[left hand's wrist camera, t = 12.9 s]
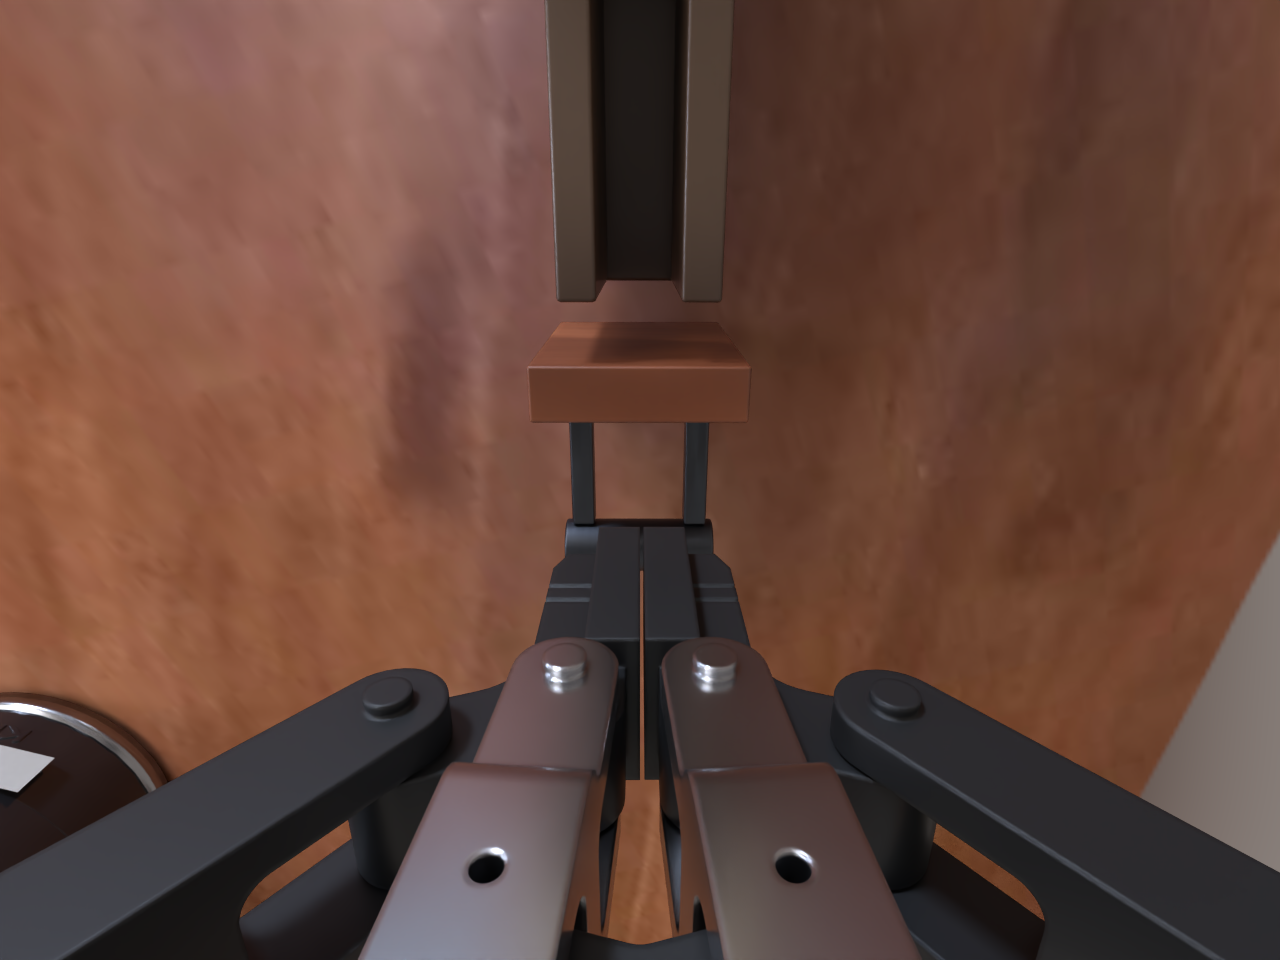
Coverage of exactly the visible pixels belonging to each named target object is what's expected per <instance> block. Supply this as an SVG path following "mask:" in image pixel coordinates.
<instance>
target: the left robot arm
mask: <svg viewBox="0 0 1280 960" xmlns="http://www.w3.org/2000/svg"><path fill="white" fill-rule="evenodd" d="M643 646H644V767H645V780H659V790H660V822H659V826H660V839H661V847H662V855H663V863H664V871H665V880H666V888H667V896H668V904H669V912H670V920H671V929H672V937H673V938H670V939H666V940H662V941H658V942H654V943H650V944H644V945H635V944H630V943H626V942H622V941H618V940H614V939H610V938H607V937H608V929H609V920H610V912H611V904H612V896H613V888H614V880H615V871H616V863H617V855H618V847H619V839H620V826H621V822H620V813H621V812H622V809H623V806H624V802H625V783H626V780H640V527H599V533H598V540H597V548H596V554H569V555H567V556H566V557H565V558H564V559H563V560H562V561H561V562H560V563H559V564H558V565H557V566H555V567H554V568H553V572H552V576H551V580H550V584H549V589H548V593H547V597H546V602H545V605H544V609H543V613H542V617H541V621H540V625H539V629H538V633H537V637H536V641H535V645H532V646H531V647H529V648H527V649H526V650H525V651H523V652H522V653H521V654H520V655H519V656H518V657H517V658H516V660H515V661H514V663H513V665H512V668H511V670H510V673H509V675H508V677H507V680H506V681H505V682H503V683H501V684H499V685H496V686H494V687H491V688H488V689H484V690H480V691H476V692H472V693H467V694H462V695H458V696H453V697H449V692H448V688H447V685H446V683H445V682H444V681H443V679H441V678H440V677H439V676H437V675H436V674H433V673H431V672H429V671H425V670H421V669H411V668H403V669H393V670H387V671H383V672H379V673H376V674H373V675H370V676H367V677H365V678H363V679H361V680H359V681H357V682H355V683H353V684H351V685H349V686H347V687H346V688H344V689H342V690H340V691H338V692H336V693H334V694H332V695H331V696H329V697H327V698H325V699H323V700H321V701H319V702H318V703H316V704H314V705H312V706H310V707H308V708H306V709H304V710H303V711H301V712H299V713H297V714H295V715H293V716H291V717H290V718H288V719H286V720H284V721H282V722H280V723H278V724H277V725H275V726H273V727H271V728H269V729H267V730H265V731H263V732H262V733H260V734H258V735H256V736H254V737H252V738H250V739H249V740H247V741H245V742H243V743H241V744H239V745H237V746H236V747H234V748H232V749H230V750H228V751H226V752H224V753H222V754H221V755H219V756H217V757H215V758H213V759H211V760H209V761H208V762H206V763H204V764H202V765H200V766H198V767H196V768H195V769H193V770H191V771H189V772H187V773H185V774H183V775H181V776H180V777H178V778H176V779H174V780H172V781H170V782H167V780H166V778H165V775H164V774H163V772H162V770H161V769H160V767H159V766H158V764H157V763H156V761H155V760H154V759H153V757H152V756H151V755H150V754H149V753H148V752H147V751H146V749H145V748H144V747H143V746H142V745H141V744H140V743H139V742H138V741H137V740H135V739H134V738H133V737H132V736H131V735H129V734H128V733H127V732H126V731H124V730H123V729H121V728H120V727H119V726H117V725H116V724H114V723H113V722H111V721H109V720H108V719H106V718H104V717H103V716H101V715H99V714H97V713H95V712H93V711H91V710H89V709H86V708H84V707H82V706H79V705H76V704H74V703H71V702H68V701H65V700H61V699H58V698H54V697H49V696H44V695H39V694H31V693H18V692H9V693H0V960H1280V873H1279V872H1278V871H1276V870H1274V869H1272V868H1270V867H1268V866H1266V865H1264V864H1263V863H1261V862H1259V861H1257V860H1255V859H1253V858H1251V857H1250V856H1248V855H1246V854H1244V853H1242V852H1240V851H1238V850H1236V849H1235V848H1233V847H1231V846H1229V845H1227V844H1225V843H1223V842H1222V841H1220V840H1218V839H1216V838H1214V837H1212V836H1210V835H1209V834H1207V833H1205V832H1203V831H1201V830H1199V829H1197V828H1196V827H1194V826H1192V825H1190V824H1188V823H1186V822H1184V821H1182V820H1181V819H1179V818H1177V817H1175V816H1173V815H1171V814H1169V813H1168V812H1166V811H1164V810H1162V809H1160V808H1158V807H1156V806H1154V805H1153V804H1151V803H1149V802H1147V801H1145V800H1143V799H1141V798H1140V797H1138V796H1136V795H1134V794H1132V793H1130V792H1128V791H1127V790H1125V789H1123V788H1121V787H1119V786H1117V785H1115V784H1113V783H1112V782H1110V781H1108V780H1106V779H1104V778H1102V777H1100V776H1099V775H1097V774H1095V773H1093V772H1091V771H1089V770H1087V769H1086V768H1084V767H1082V766H1080V765H1078V764H1076V763H1074V762H1072V761H1071V760H1069V759H1067V758H1065V757H1063V756H1061V755H1059V754H1058V753H1056V752H1054V751H1052V750H1050V749H1048V748H1046V747H1045V746H1043V745H1041V744H1039V743H1037V742H1035V741H1033V740H1031V739H1030V738H1028V737H1026V736H1024V735H1022V734H1020V733H1018V732H1017V731H1015V730H1013V729H1011V728H1009V727H1007V726H1005V725H1003V724H1002V723H1000V722H998V721H996V720H994V719H992V718H990V717H989V716H987V715H985V714H983V713H981V712H979V711H977V710H976V709H974V708H972V707H970V706H968V705H966V704H964V703H962V702H961V701H959V700H957V699H955V698H953V697H951V696H949V695H948V694H946V693H944V692H942V691H940V690H938V689H936V688H935V687H933V686H931V685H929V684H927V683H925V682H923V681H921V680H919V679H917V678H914V677H911V676H909V675H906V674H902V673H898V672H893V671H887V670H865V671H859V672H855V673H852V674H850V675H848V676H846V677H844V678H843V679H842V680H841V681H840V682H839V683H838V684H837V686H836V688H835V691H834V697H833V696H829V695H824V694H819V693H815V692H810V691H806V690H802V689H798V688H795V687H792V686H789V685H786V684H784V683H782V682H780V681H778V680H776V679H775V678H773V677H772V675H771V673H770V670H769V668H768V665H767V663H766V661H765V660H764V658H763V657H762V656H761V655H760V654H759V653H758V652H757V651H755V650H754V649H753V648H751V647H750V643H749V639H748V635H747V631H746V627H745V623H744V620H743V616H742V612H741V608H740V604H739V602H738V596H737V593H736V589H735V588H734V581H733V577H732V573H731V569H730V567H728V566H727V565H726V564H725V563H724V562H723V561H722V560H721V559H720V558H718V557H717V556H716V555H715V554H688V549H687V542H686V535H685V529H684V527H644V546H643ZM347 820H348V821H349V827H350V832H351V837H352V839H350V840H349V841H348V842H346V843H345V844H343V845H342V846H341V847H339V848H338V849H336V850H335V851H334V852H332V853H331V854H329V855H328V856H327V857H325V858H324V859H322V860H321V861H320V862H318V863H317V864H315V865H314V866H313V867H311V868H310V869H308V870H307V871H306V872H304V873H303V874H301V875H300V876H299V877H297V878H296V879H294V880H293V881H292V882H290V883H289V884H287V885H286V886H285V887H283V888H282V889H280V890H279V891H278V892H276V893H275V894H273V895H272V896H271V897H269V898H268V899H266V900H265V901H264V902H262V903H261V904H259V905H258V906H257V907H255V908H254V909H252V910H251V911H250V912H248V913H247V914H245V915H244V916H243V917H241V918H240V913H241V910H242V907H243V905H244V903H245V901H246V899H247V898H248V896H249V895H250V893H251V892H252V890H253V889H254V888H255V887H256V886H257V885H258V883H260V882H261V881H262V880H263V879H264V878H265V877H266V876H267V875H269V874H270V873H271V872H273V871H274V870H276V869H277V868H279V867H280V866H282V865H283V864H284V863H286V862H287V861H289V860H290V859H292V858H293V857H295V856H296V855H297V854H299V853H300V852H302V851H303V850H305V849H306V848H308V847H309V846H311V845H312V844H313V843H315V842H316V841H318V840H319V839H321V838H322V837H324V836H325V835H326V834H328V833H329V832H331V831H332V830H334V829H335V828H337V827H338V826H340V825H341V824H342V823H344V822H345V821H347ZM936 823H938V824H939V825H941V826H942V827H943V828H945V829H946V830H948V831H949V832H951V833H952V834H954V835H955V836H956V837H958V838H959V839H961V840H962V841H964V842H965V843H967V844H968V845H970V846H971V847H972V848H974V849H975V850H977V851H978V852H980V853H981V854H983V855H984V856H985V857H987V858H988V859H990V860H991V861H993V862H994V863H996V864H997V865H998V866H1000V867H1001V868H1003V869H1004V870H1006V871H1007V872H1009V873H1010V874H1012V875H1013V876H1014V877H1016V878H1017V879H1018V880H1019V881H1020V882H1022V883H1023V884H1024V885H1025V886H1026V887H1027V888H1028V890H1029V891H1030V892H1031V893H1032V894H1033V896H1034V897H1035V899H1036V900H1037V902H1038V904H1039V905H1040V907H1041V910H1042V912H1043V915H1044V919H1045V921H1043V920H1042V919H1040V918H1039V917H1037V916H1036V915H1035V914H1033V913H1032V912H1030V911H1029V910H1028V909H1026V908H1025V907H1023V906H1022V905H1021V904H1019V903H1018V902H1016V901H1015V900H1014V899H1012V898H1011V897H1009V896H1008V895H1007V894H1005V893H1004V892H1002V891H1001V890H1000V889H998V888H997V887H995V886H994V885H993V884H991V883H990V882H988V881H987V880H986V879H984V878H983V877H981V876H980V875H979V874H977V873H976V872H974V871H973V870H972V869H970V868H969V867H967V866H966V865H965V864H963V863H962V862H960V861H959V860H958V859H956V858H955V857H954V856H952V855H951V854H949V853H948V852H947V851H945V850H944V849H942V848H941V847H940V846H938V845H937V844H935V843H934V842H933V838H934V833H935V828H936Z"/></svg>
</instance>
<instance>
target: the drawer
mask: <svg viewBox="0 0 1280 960" xmlns="http://www.w3.org/2000/svg"><path fill="white" fill-rule="evenodd" d="M544 5H545V30H546V54H547V79H548V103H549V128H550V153H551V177H552V202H553V226H554V251H555V276H556V298H557V300H558V301H559V302H594V301H595V300H596V299H597V297H598V295H599V293H600V291H601V289H602V288H603V286H604V284H605V282H606V280H672V281H673V283H674V285H675V287H676V289H677V291H678V293H679V295H680V297H681V299H682V301H683V302H720V301H721V300H722V285H723V261H724V238H725V214H726V190H727V166H728V142H729V118H730V94H731V71H732V47H733V23H734V0H544ZM527 381H528V399H529V416H530V421H531V422H533V423H569V429H570V456H571V484H572V511H573V519H568V520H567V523H566V530H565V557H566V556H567V555H569V554H596V548H597V540H598V533H599V527H640V571H643V546H644V527H684V529H685V535H686V542H687V549H688V554H713V528H712V522H711V520H710V519H705V518H706V492H707V465H708V439H709V423H746V422H748V418H749V401H750V384H751V367H750V365H749V364H748V363H747V361H746V360H745V359H744V357H743V356H742V355H741V353H740V352H739V351H738V349H737V348H736V347H735V345H734V344H733V343H732V341H731V340H730V339H729V337H728V336H727V335H726V333H725V332H724V331H723V329H722V328H721V326H720V325H719V324H718V323H717V322H562V323H560V325H559V326H558V327H557V328H556V330H555V331H554V332H553V334H552V335H551V336H550V338H549V339H548V340H547V342H546V343H545V344H544V346H543V347H542V348H541V350H540V351H539V352H538V353H537V355H536V356H535V357H534V359H533V360H532V361H531V363H530V364H529V365H528V367H527ZM594 423H685V427H684V467H683V507H682V517H683V519H595V518H596V496H595V453H594Z"/></svg>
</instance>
